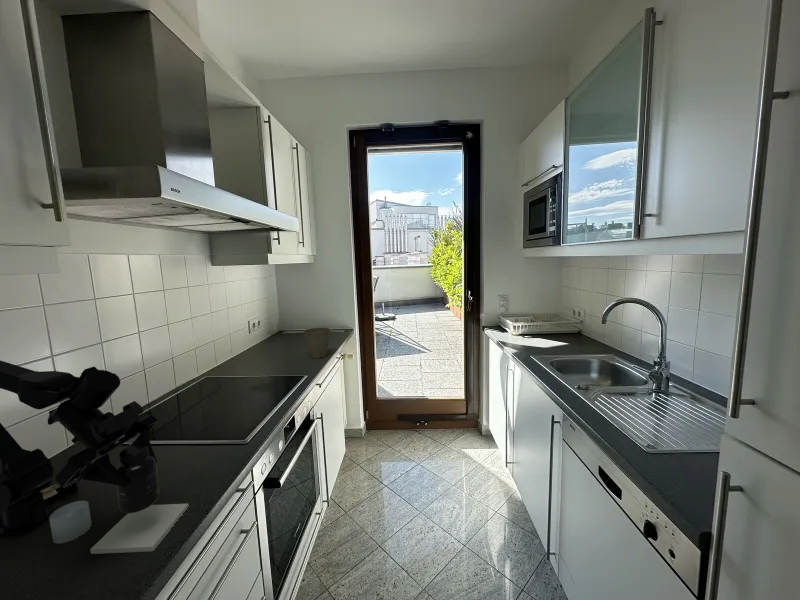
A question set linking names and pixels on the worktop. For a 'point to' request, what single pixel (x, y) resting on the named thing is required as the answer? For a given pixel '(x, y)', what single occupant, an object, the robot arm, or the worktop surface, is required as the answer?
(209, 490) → the worktop surface
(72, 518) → the blue-grey rounded cylinder
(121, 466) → the supplement bottle
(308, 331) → the plant pot
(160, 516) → the plate
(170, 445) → the worktop surface
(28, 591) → the worktop surface
